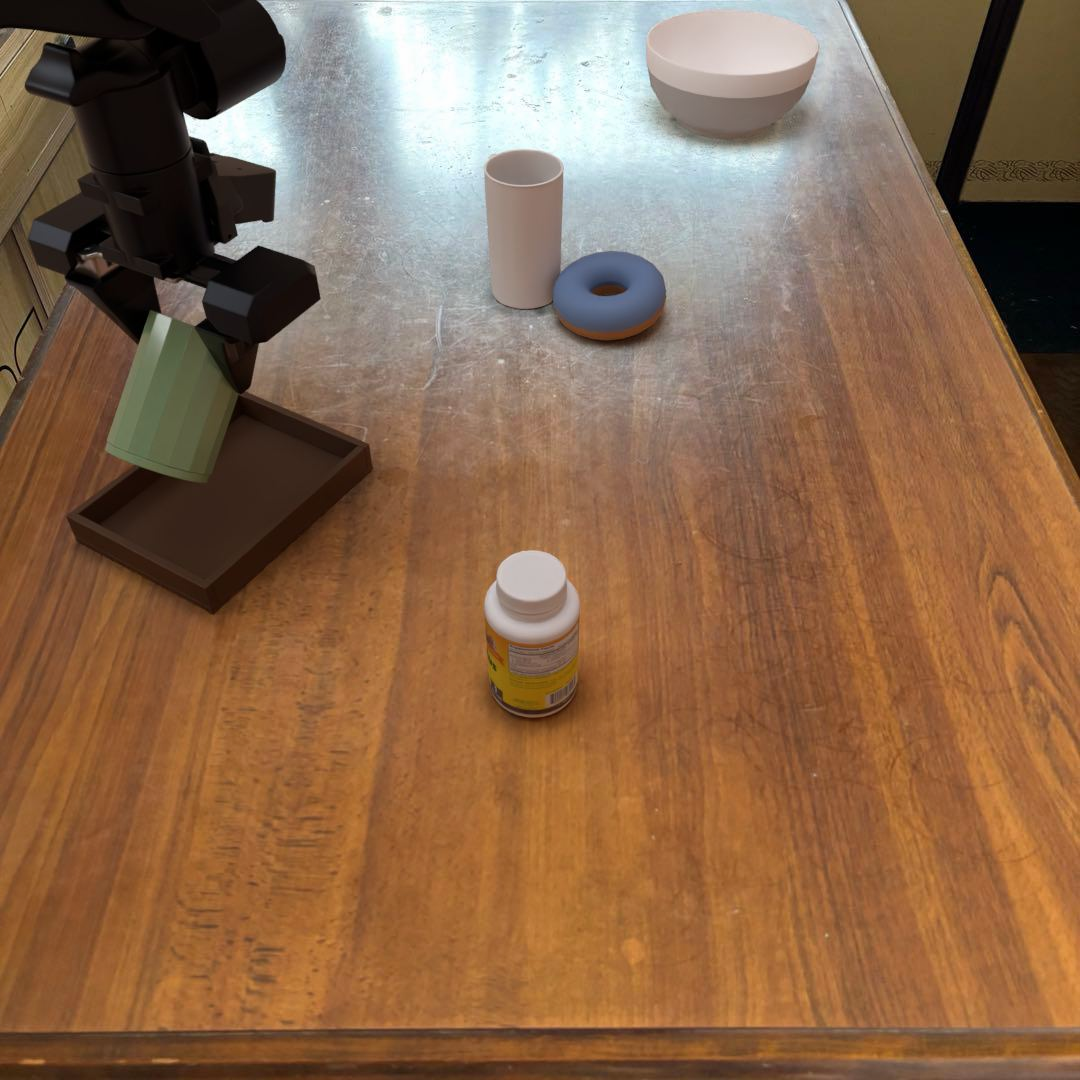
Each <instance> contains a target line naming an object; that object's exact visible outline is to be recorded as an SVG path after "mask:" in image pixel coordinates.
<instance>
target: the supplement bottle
mask: <svg viewBox="0 0 1080 1080" xmlns="http://www.w3.org/2000/svg"><path fill="white" fill-rule="evenodd" d="M566 570H567V569H566V568H565V566H564V564H563V563H562V562H561V560H560V559H558V558H557V557H555V556H554V555H553V554H551V553H549V552H545V551H541V550H535V549H534V550H533V549H531V550H529V549H528V550H522V551H518V552H515V553H513V554H510V555H509V556H507V557H506V558H505V559H504V560H503V561H502V562H501V563H500V564H499V566H498V568H497V571H496V577H495V578H496V579H495V581H494V582H493V583H492V584H491V585H490V586H489V588H488V590H487V592H486V594H485V597H484V602H483V603H484V605H483V607H484V608H483V611H484V623H485V624H484V625H485V627H484V629H485V640H486V654H487V671H488V682H489V688H490V692H491V693H492V696H493V698H494V699H495V701H496V702H497V703H498V704H499V705H500V706H501V707H502V708H503V709H504V710H506V711H508V712H509V713H511V714H513V715H516V716H519V717H524V718H533V719H535V718H542V717H543V718H544V717H547V716H551V715H554V714H555V713H558V712H559V711H561V710H562V709H564V708H565V707H567V705H568V704H569V703H570V702H571V701H572V699H573V698H574V696H575V694H576V691H577V688H578V683H579V662H580V661H579V660H580V658H579V657H580V621H581V600H580V595H579V593H578V591H577V589H576V587H575V585H574V584H573V583H572V582H571V581H570V580H569V579H568V578H567V577H568V576H567V571H566Z"/></svg>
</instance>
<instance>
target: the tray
mask: <svg viewBox="0 0 1080 1080" xmlns="http://www.w3.org/2000/svg"><path fill="white" fill-rule="evenodd" d="M371 453H372V452H371V447H370V443H368V442H366V441H363V440H360V439H359V438H356V437H354V436H352V435H349V434H347V433H344V432H342V431H340V430H337V429H335V428H332V427H330V426H328V425H327V424H324V423H323V424H322V423H321V422H319V421H316V420H314V419H311V418H309V417H306V416H304V415H302V414H300V413H297V412H295V411H292V410H290V409H288V408H286V407H284V406H281V405H278V404H276V403H273V402H271V401H269V400H267V399H264V398H262V397H260V396H257V395H255V394H253V393H250V392H248V391H247V390H246V391H245V392H244V393H243V394H239V395H238V398H237V401H236V404H235V407H234V410H233V413H232V416H231V418H230V421H229V424H228V427H227V430H226V433H225V436H224V439H223V442H222V445H221V448H220V451H219V454H218V457H217V460H216V462H215V465H214V468H213V471H212V474H211V476H210V479H209V481H208V483H197V482H191V481H186V480H182V479H178V478H174V477H170V476H167V475H164V474H160V473H157V472H154V471H151V470H148V469H145V468H142V467H139V466H136V465H134V464H132V466H130V467H129V468H128V469H126V470H125V471H123V472H122V473H120V475H118V476H117V477H116V478H114V479H112V480H111V481H110V482H109V483H107V484H106V485H105V486H103V487H102V488H101V489H100V490H98V491H97V492H95V493H94V494H92V496H90V497H88V499H86V500H85V501H83V502H82V503H81V504H80V505H78V506H77V507H75V508H74V509H73V510H71V511H70V512H68V513H67V514H65V517H66V520H67V522H68V524H69V527H70V529H71V531H72V534H73V536H74V538H75V541H76V542H77V543H80V544H81V545H83V546H85V547H87V548H89V549H91V550H93V551H94V552H96V553H98V554H101V555H102V556H104V557H105V558H108V559H109V560H111V561H112V562H113V561H114V562H115V563H117V564H119V565H121V566H123V567H125V568H127V569H128V570H130V571H132V572H133V573H136V574H138V575H140V576H142V577H143V578H145V579H147V580H149V581H151V582H153V583H154V584H156V585H158V586H160V587H162V588H163V589H165V590H168V591H170V592H172V593H174V594H175V595H177V596H178V597H181V598H183V599H185V600H186V601H188V602H190V603H192V604H194V605H196V606H197V607H200V608H201V609H203V610H206V611H207V612H209V613H211V614H212V615H214V614H215V613H216V612H217V611H218V610H220V609H221V608H222V607H223V606H224V605H225V604H226V603H227V602H228V601H230V599H232V598H233V597H234V596H235V595H236V594H237V593H238V592H239V591H240V590H241V589H242V588H244V587H245V586H246V585H247V584H248V583H249V582H250V581H252V579H254V578H255V577H256V576H257V575H258V574H259V573H260V572H261V571H262V570H264V569H265V568H266V567H267V566H268V565H269V564H270V563H271V562H273V560H274V559H276V557H278V556H279V555H280V554H282V552H283V551H285V550H286V548H287V547H289V546H290V545H291V544H292V543H293V542H294V541H296V539H298V538H299V537H300V536H301V535H302V534H303V533H304V532H305V531H306V530H307V529H309V528H310V527H311V526H313V524H314V523H315V522H316V521H317V520H318V519H319V518H321V517H322V516H323V515H324V514H325V513H326V512H327V511H328V510H329V509H331V508H332V507H333V506H334V505H335V504H337V502H338V501H339V500H341V499H342V498H343V497H344V496H345V495H346V494H347V493H348V492H349V491H351V490H352V489H353V488H354V487H355V486H356V485H357V484H358V483H359V482H360V481H361V480H363V479H364V478H365V477H366V476H367V475H368V474H369V473H370V472H372V471H373V469H374V467H373V461H372V454H371Z"/></svg>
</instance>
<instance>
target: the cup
mask: <svg viewBox="0 0 1080 1080" xmlns="http://www.w3.org/2000/svg"><path fill="white" fill-rule="evenodd" d="M161 313H162V312H161ZM161 313H158V312H155V311H152V310H150V312H149V315H148V318H147V321H146V324H145V327H144V330H143V333H142V336H141V339H140V342H139V345H137V348H136V351H135V355H134V357H133V359H132V364H131V366H130V369H129V372H128V375H127V378H126V381H125V385H124V387H123V390H122V393H121V396H120V400H119V403H118V406H117V409H116V411H115V414H114V416H113V420H112V424H111V426H110V429H109V433H108V435H107V439H106V442H105V445H104V451H105V452H106V453H108V454H109V455H111V456H113V457H114V458H117V459H119V460H122V461H124V462H126V463H128V464H131V465H136V466H139V467H142V468H145V469H148V470H151V471H154V472H157V473H160V474H164V475H167V476H170V477H174V478H178V479H182V480H186V481H191V482H197V483H208V481H209V479H210V476H211V474H212V471H213V468H214V465H215V462H216V460H217V457H218V454H219V451H220V448H221V445H222V442H223V439H224V436H225V433H226V430H227V427H228V424H229V421H230V418H231V416H232V413H233V410H234V407H235V404H236V401H237V398H238V395H239V394H238V393H236V392H235V391H234V389H233V388H232V387H231V385H230V384H229V383H228V381H227V380H226V378H225V377H224V375H223V373H222V372H221V370H220V369H219V367H218V365H217V364H216V362H215V360H214V359H213V357H212V356H211V354H210V352H209V351H208V349H207V347H206V346H205V344H204V343H203V341H202V339H201V338H200V336H199V335H198V333H197V331H196V330H195V326H196V325H194V324H190V323H188V322H186V321H182V320H180V319H176V318H175V317H171V316H169V315H165V314H163V313H162V314H161Z"/></svg>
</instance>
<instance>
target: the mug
mask: <svg viewBox="0 0 1080 1080" xmlns="http://www.w3.org/2000/svg"><path fill="white" fill-rule="evenodd" d="M564 167H565V165H564V163H563V161H562V160H561V159H560V158H559V157H557V156H556V155H554V154H552V153H549V152H546V151H543V150H538V149H529V148H526V149H525V148H519V149H510V150H505V151H501V152H499V153H492V154H489V156H488V159H487V160H486V161H485V162H484V164H483V173H484V174H483V175H484V197H485V198H484V199H485V210H486V225H487V241H488V256H489V257H488V258H489V259H488V260H489V271H490V283H491V284H490V285H491V293H492V296H493V297H494V299H495V300H496V301H498V302H499V303H500V304H502V305H504V306H505V307H509V308H513V309H519V310H520V309H522V310H528V309H530V310H531V309H537V308H542V307H544V306H547V305H549V304H550V303H552V302H553V288H554V285H555V283H556V280H557V278H558V276H559V274H560V273H561V264H562V262H561V261H562V234H563V233H562V232H563V231H562V230H563V204H564V203H563V202H564V170H565V168H564Z"/></svg>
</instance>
